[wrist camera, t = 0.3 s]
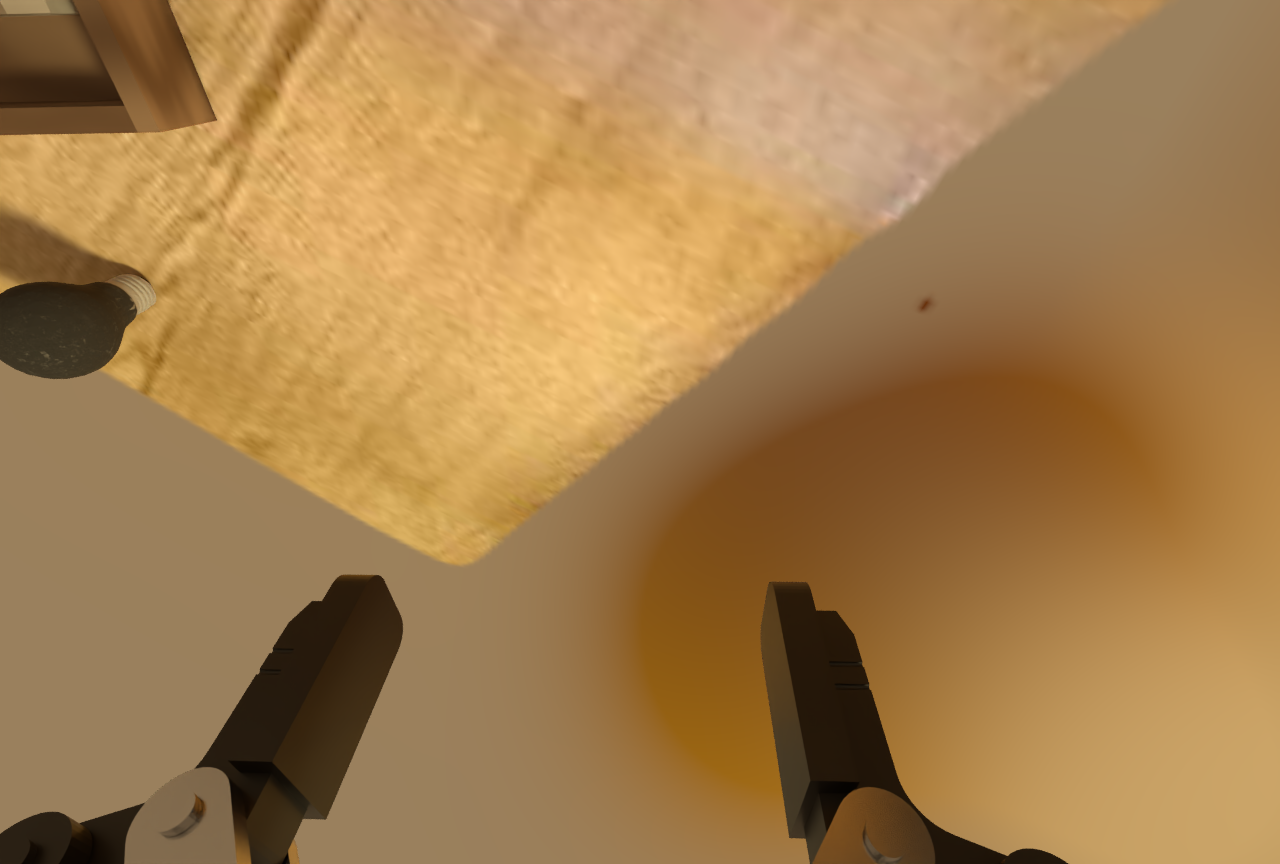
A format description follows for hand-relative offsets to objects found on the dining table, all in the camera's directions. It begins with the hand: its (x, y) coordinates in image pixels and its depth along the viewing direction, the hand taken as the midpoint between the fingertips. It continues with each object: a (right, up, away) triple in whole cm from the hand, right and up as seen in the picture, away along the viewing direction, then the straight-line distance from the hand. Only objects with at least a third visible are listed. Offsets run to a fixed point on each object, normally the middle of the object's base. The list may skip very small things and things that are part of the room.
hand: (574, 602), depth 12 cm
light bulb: (-33, +14, +27) cm, 45 cm away
